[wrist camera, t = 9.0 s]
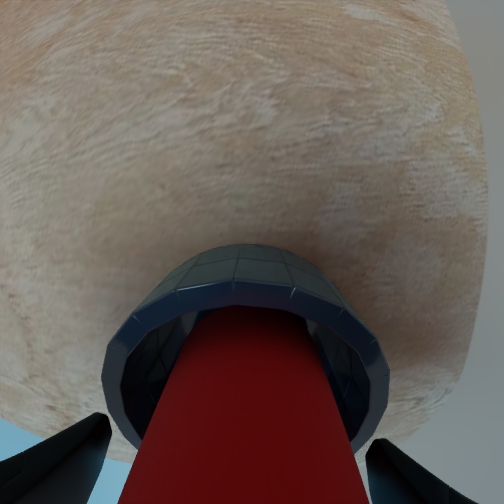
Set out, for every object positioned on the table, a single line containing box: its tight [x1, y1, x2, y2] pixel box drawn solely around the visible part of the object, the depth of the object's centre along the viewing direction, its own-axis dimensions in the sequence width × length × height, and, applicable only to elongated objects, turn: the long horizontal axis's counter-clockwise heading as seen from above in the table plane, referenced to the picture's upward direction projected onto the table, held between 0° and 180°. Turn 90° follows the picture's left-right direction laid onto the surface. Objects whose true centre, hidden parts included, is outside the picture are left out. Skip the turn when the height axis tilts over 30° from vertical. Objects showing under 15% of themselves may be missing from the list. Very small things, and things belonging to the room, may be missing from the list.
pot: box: [101, 244, 390, 454], centre depth 12 cm, size 11×11×6 cm
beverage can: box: [117, 305, 369, 504], centre depth 8 cm, size 6×6×12 cm
